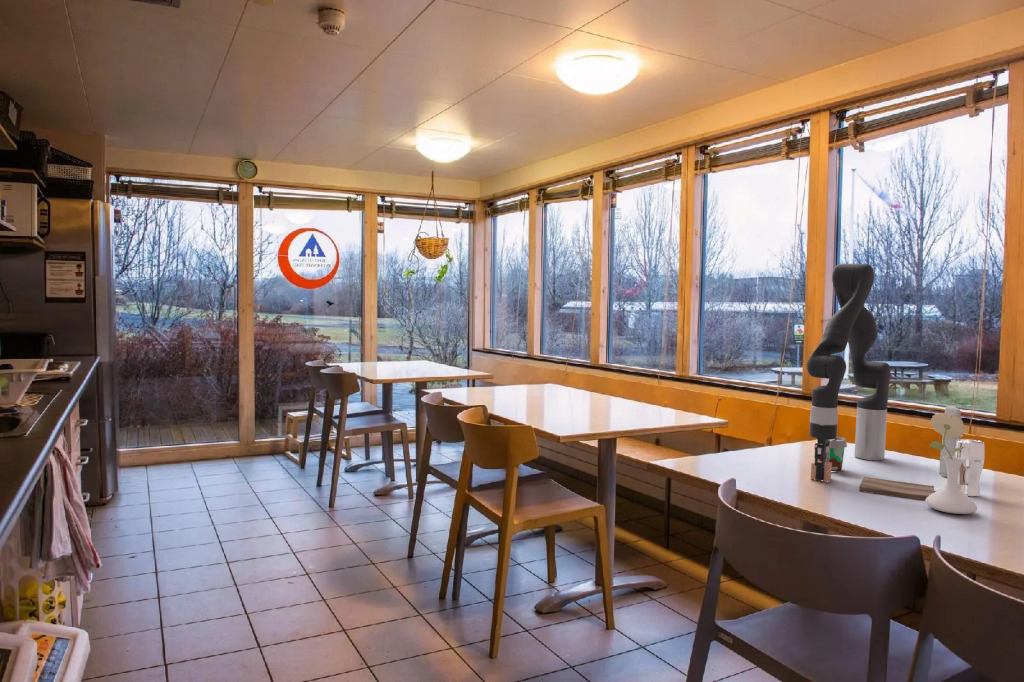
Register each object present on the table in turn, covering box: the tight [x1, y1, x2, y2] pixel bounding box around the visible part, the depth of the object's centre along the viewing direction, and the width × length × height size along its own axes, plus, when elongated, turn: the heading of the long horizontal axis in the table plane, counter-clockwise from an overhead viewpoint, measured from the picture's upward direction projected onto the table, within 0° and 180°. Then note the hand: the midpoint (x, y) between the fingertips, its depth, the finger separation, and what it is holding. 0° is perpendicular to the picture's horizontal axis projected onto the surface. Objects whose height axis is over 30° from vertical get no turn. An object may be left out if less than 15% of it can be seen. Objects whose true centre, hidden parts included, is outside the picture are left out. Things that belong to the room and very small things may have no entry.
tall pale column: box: [938, 405, 963, 478], centre depth 215 cm, size 11×4×22 cm, turn 174°
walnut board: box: [858, 476, 935, 501], centre depth 198 cm, size 14×18×1 cm
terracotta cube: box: [810, 459, 832, 483], centre depth 209 cm, size 5×5×5 cm
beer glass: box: [955, 438, 986, 497], centre depth 195 cm, size 7×7×15 cm
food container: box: [828, 435, 848, 472], centre depth 222 cm, size 12×6×10 cm, turn 168°
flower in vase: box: [924, 412, 978, 515], centre depth 179 cm, size 13×11×25 cm
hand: (820, 477), depth 209 cm, fingers closed on terracotta cube, 5 cm apart
